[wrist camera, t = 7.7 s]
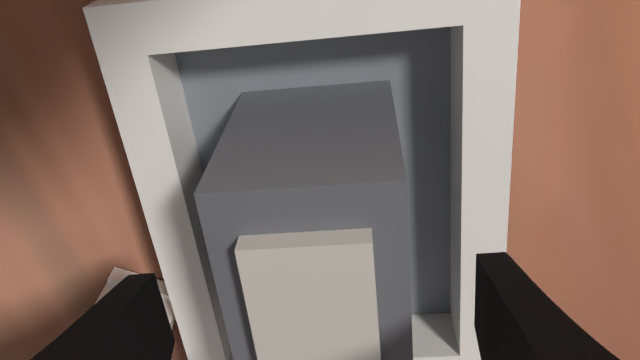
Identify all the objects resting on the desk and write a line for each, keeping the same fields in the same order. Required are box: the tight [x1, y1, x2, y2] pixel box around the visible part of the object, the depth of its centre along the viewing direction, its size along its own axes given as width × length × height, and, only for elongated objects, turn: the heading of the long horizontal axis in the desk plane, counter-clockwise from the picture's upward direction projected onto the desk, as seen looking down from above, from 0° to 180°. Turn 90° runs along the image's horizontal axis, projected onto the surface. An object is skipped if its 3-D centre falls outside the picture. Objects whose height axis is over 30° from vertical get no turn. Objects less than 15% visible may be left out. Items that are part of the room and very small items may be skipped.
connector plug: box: [194, 80, 413, 360], centre depth 14 cm, size 6×4×6 cm, turn 6°
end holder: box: [83, 0, 521, 360], centre depth 16 cm, size 12×10×2 cm
